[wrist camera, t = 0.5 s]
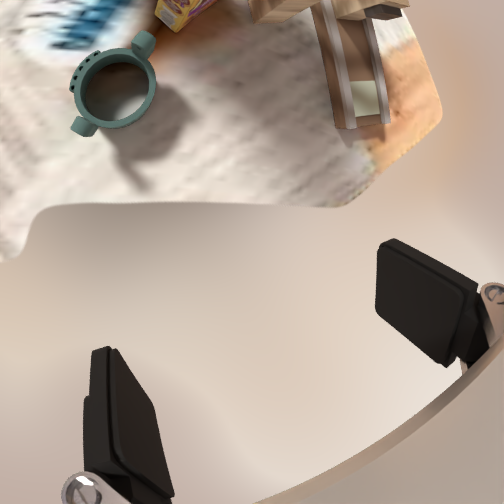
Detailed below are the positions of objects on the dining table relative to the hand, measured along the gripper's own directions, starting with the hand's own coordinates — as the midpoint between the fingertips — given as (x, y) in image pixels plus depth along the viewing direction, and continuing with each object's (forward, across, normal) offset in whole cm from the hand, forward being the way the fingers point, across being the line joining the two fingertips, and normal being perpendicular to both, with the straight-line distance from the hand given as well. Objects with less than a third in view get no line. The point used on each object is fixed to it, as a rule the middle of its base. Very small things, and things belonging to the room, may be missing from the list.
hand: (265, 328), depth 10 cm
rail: (+29, -28, -12) cm, 41 cm away
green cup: (+29, +4, -12) cm, 32 cm away
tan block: (+29, -16, -20) cm, 39 cm away
